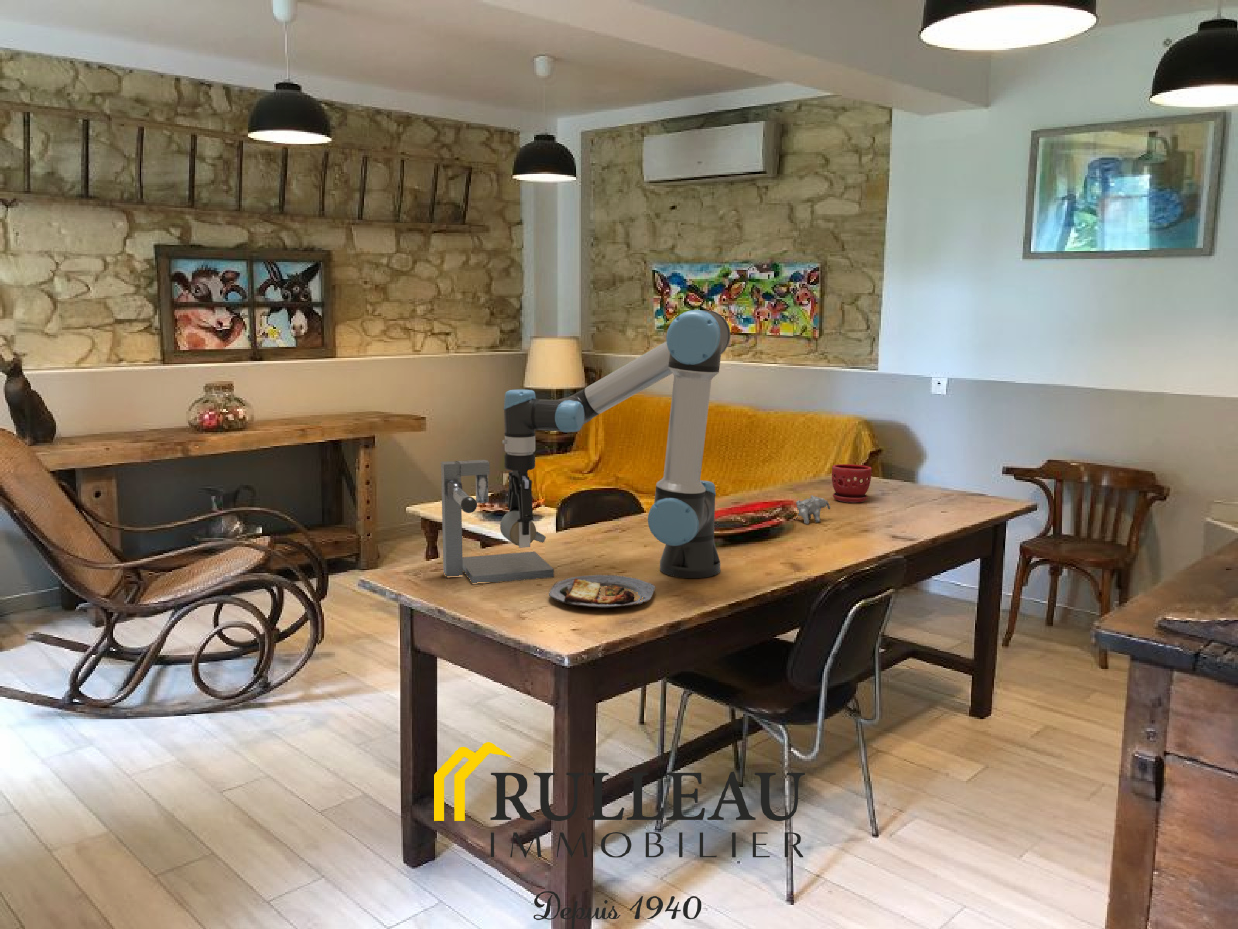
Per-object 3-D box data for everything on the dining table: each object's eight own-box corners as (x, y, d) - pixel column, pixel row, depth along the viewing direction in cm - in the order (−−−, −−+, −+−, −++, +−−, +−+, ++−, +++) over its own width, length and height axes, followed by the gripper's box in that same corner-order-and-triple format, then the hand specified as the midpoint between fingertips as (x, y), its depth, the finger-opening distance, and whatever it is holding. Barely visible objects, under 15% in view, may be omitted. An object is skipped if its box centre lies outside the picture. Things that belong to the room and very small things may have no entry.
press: (553, 577, 236) (553, 463, 231) (451, 586, 228) (449, 469, 223) (534, 558, 253) (534, 452, 248) (438, 567, 244) (436, 457, 240)
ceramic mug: (509, 548, 236) (510, 517, 235) (499, 541, 243) (499, 511, 242) (550, 545, 240) (551, 515, 239) (539, 538, 248) (539, 508, 247)
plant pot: (874, 504, 324) (876, 469, 322) (834, 504, 325) (836, 469, 323) (865, 496, 337) (866, 462, 335) (827, 496, 337) (828, 462, 335)
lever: (478, 514, 212) (478, 497, 212) (462, 516, 211) (462, 498, 210) (460, 497, 232) (460, 480, 231) (445, 497, 230) (445, 481, 230)
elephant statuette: (787, 522, 299) (788, 498, 298) (810, 514, 307) (811, 490, 306) (812, 527, 293) (812, 503, 291) (835, 519, 301) (836, 495, 299)
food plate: (645, 617, 206) (645, 601, 206) (539, 612, 210) (539, 596, 210) (659, 587, 231) (659, 572, 230) (564, 583, 235) (564, 568, 234)
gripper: (495, 447, 246) (495, 534, 250) (515, 460, 226) (515, 554, 230) (523, 446, 249) (524, 532, 252) (546, 459, 229) (546, 552, 233)
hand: (520, 542), depth 241 cm, fingers closed on ceramic mug, 8 cm apart
